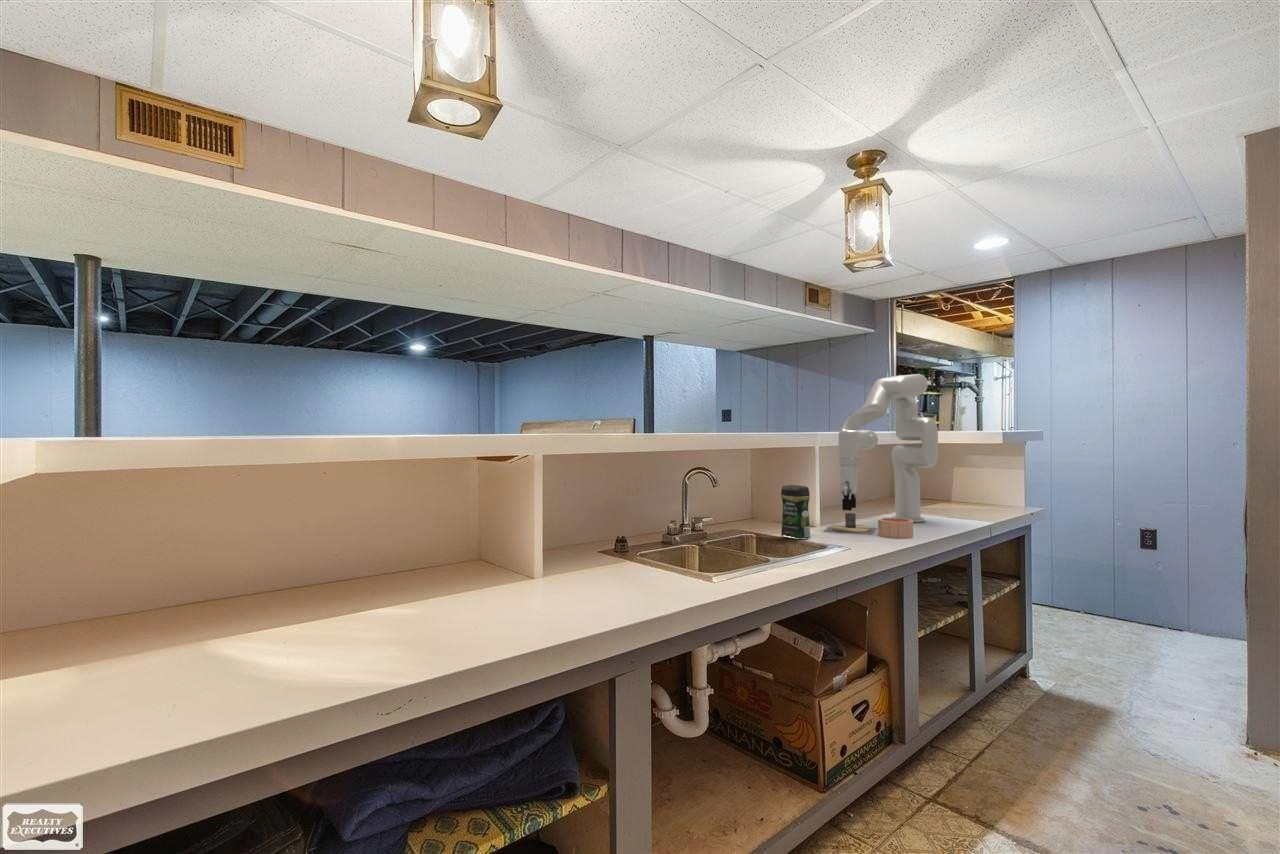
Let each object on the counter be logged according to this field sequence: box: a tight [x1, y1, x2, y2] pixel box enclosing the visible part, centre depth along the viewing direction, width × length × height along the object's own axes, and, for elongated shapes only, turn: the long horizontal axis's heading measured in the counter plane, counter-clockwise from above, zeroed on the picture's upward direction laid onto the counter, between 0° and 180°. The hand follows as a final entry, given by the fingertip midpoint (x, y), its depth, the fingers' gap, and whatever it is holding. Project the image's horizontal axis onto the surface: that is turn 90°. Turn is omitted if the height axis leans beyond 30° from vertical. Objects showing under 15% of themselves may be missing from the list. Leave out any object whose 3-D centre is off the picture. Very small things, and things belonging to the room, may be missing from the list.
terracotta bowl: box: [877, 517, 914, 539], centre depth 206 cm, size 11×11×6 cm
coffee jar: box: [780, 484, 811, 539], centre depth 207 cm, size 10×8×19 cm
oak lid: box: [830, 512, 871, 534], centre depth 219 cm, size 14×14×6 cm
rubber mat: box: [822, 524, 878, 536], centre depth 219 cm, size 17×17×1 cm
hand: (849, 508), depth 219 cm, fingers open, 9 cm apart
